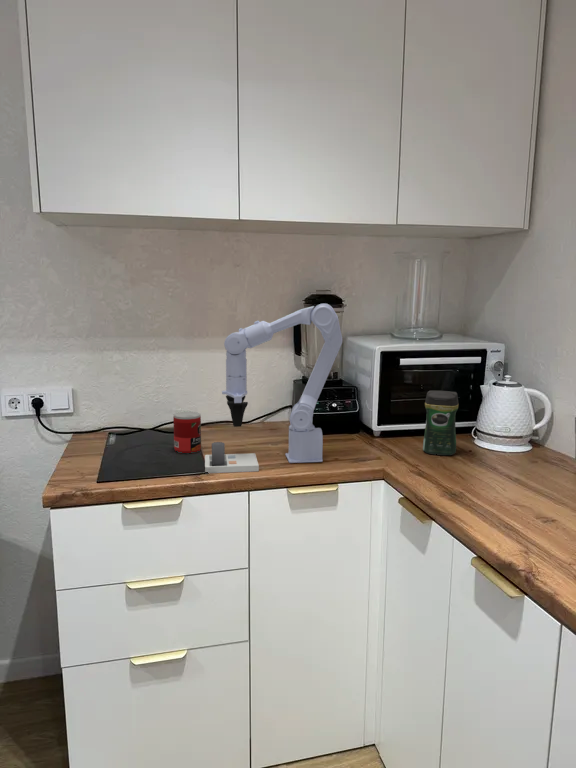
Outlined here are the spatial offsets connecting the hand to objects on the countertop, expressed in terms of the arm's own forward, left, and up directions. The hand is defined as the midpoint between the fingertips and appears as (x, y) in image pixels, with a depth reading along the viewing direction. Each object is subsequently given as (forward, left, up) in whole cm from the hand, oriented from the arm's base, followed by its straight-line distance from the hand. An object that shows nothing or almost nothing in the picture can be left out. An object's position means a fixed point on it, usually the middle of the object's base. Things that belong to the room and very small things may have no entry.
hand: (236, 423), depth 162 cm
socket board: (+2, +8, -10) cm, 13 cm away
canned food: (+14, -8, -10) cm, 19 cm away
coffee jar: (-60, +2, -10) cm, 61 cm away
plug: (+6, +11, -10) cm, 15 cm away
